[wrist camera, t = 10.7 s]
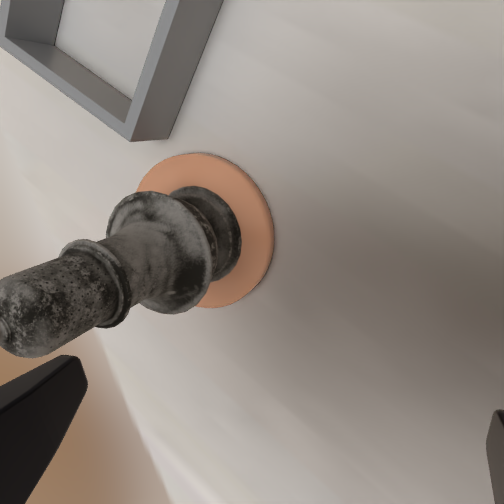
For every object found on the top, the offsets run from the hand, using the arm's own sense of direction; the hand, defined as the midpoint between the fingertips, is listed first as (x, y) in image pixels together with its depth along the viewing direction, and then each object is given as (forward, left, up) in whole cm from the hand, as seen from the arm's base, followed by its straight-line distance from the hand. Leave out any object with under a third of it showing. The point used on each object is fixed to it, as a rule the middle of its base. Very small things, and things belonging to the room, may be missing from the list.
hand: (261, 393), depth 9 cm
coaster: (+7, +5, -12) cm, 15 cm away
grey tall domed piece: (+7, +4, -11) cm, 14 cm away
